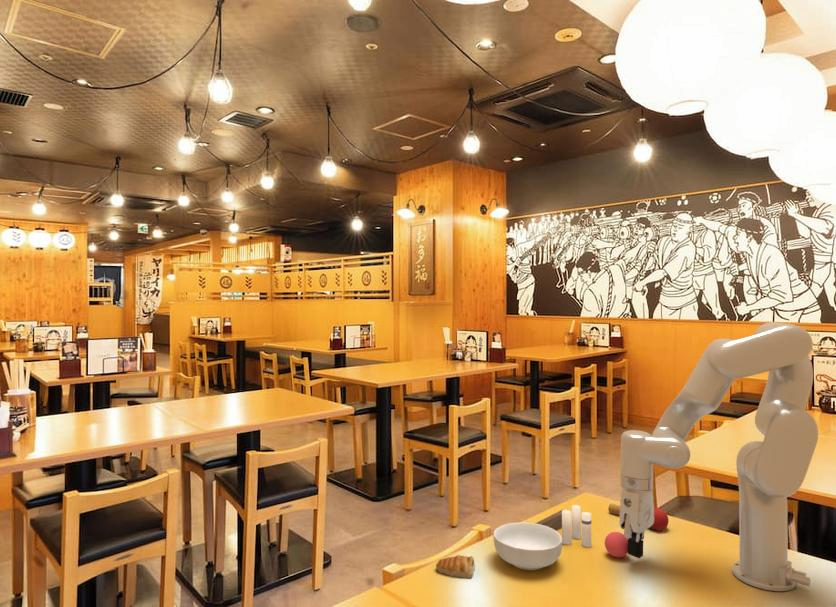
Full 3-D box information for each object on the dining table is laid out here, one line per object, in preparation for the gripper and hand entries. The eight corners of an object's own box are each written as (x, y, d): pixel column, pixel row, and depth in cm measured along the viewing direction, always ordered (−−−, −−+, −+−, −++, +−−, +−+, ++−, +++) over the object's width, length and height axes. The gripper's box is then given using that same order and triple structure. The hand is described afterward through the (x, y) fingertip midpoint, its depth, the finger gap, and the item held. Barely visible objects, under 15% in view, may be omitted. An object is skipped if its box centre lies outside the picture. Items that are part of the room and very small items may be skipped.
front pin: (593, 545, 145) (593, 513, 145) (588, 548, 143) (588, 516, 143) (584, 542, 147) (584, 511, 147) (580, 545, 145) (579, 513, 145)
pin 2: (582, 537, 150) (582, 506, 150) (578, 539, 148) (577, 508, 148) (574, 534, 152) (574, 504, 152) (570, 537, 150) (570, 506, 150)
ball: (628, 527, 140) (608, 529, 144) (617, 534, 135) (597, 536, 140) (637, 552, 138) (616, 553, 142) (626, 560, 134) (605, 561, 138)
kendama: (603, 521, 164) (659, 533, 150) (602, 499, 165) (658, 509, 151) (618, 520, 168) (674, 531, 154) (617, 498, 170) (673, 507, 155)
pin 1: (573, 542, 146) (572, 511, 146) (568, 545, 145) (568, 514, 145) (565, 540, 148) (564, 509, 148) (560, 542, 147) (560, 511, 147)
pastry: (434, 577, 130) (434, 561, 130) (438, 564, 136) (437, 548, 136) (474, 580, 128) (473, 564, 128) (475, 566, 135) (475, 551, 135)
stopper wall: (567, 524, 158) (567, 511, 158) (535, 541, 147) (535, 527, 147) (562, 523, 159) (562, 509, 159) (530, 540, 148) (530, 525, 148)
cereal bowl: (574, 561, 136) (574, 533, 136) (540, 587, 124) (540, 557, 124) (516, 541, 148) (516, 515, 148) (480, 563, 136) (480, 535, 136)
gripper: (638, 493, 127) (637, 571, 127) (663, 478, 137) (662, 550, 137) (607, 485, 132) (606, 560, 132) (634, 471, 143) (633, 541, 143)
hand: (635, 555), depth 135 cm, fingers closed
